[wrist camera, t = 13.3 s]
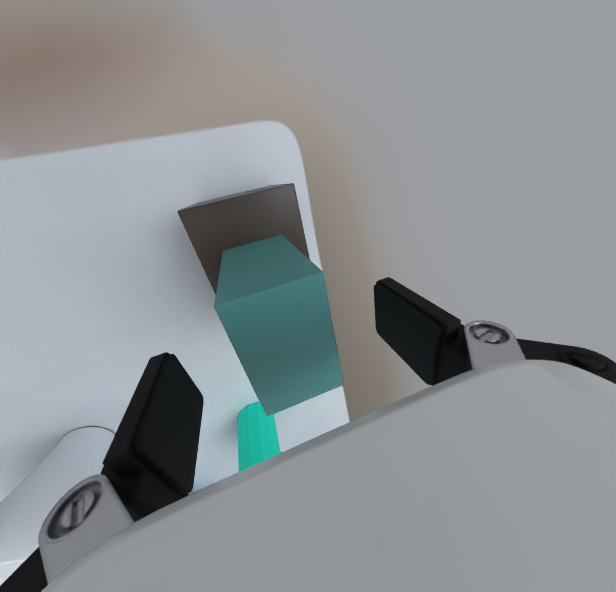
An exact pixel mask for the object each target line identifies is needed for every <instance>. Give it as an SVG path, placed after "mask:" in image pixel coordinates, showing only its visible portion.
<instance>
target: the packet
mask: <svg viewBox="0 0 616 592" xmlns="http://www.w3.org/2000/svg"><path fill="white" fill-rule="evenodd" d="M214 308H215V310H216V312H217V314H218V316H219V318H220V320H221V322H222V324H223V326H224V329H225V331H226V333H227V335H228V337H229V339H230V341H231V343H232V345H233V347H234V349H235V351H236V354H237V356H238V358H239V360H240V362H241V364H242V366H243V368H244V370H245V372H246V374H247V376H248V378H249V381H250V383H251V385H252V387H253V389H254V391H255V393H256V395H257V397H258V399H259V401H260V403H261V405H262V408H263V410H264V412H265V414H266V416H270V415H272V414H275V413H277V412H279V411H282V410H284V409H287V408H289V407H291V406H294V405H296V404H299V403H301V402H303V401H306V400H308V399H311V398H313V397H315V396H318V395H320V394H323V393H325V392H327V391H330V390H332V389H335V388H337V387H339V386H342V385H343V384H344V383H343V377H342V372H341V367H340V361H339V356H338V350H337V345H336V340H335V334H334V328H333V323H332V317H331V312H330V306H329V301H328V296H327V290H326V285H325V279H324V274H323V272H322V271H321V270H320V269H319V268H318V267H317V266H316V265H315V264H313V263H312V262H311V261H310V260H309V259H308V258H307V257H306V256H305V255H304V254H303V253H301V252H300V251H299V250H298V249H297V248H296V247H295V246H294V245H293V244H292V243H290V242H289V241H288V240H287V239H286V238H285V237H284V236H283V235H282V234H281V235H277V236H274V237H270V238H267V239H263V240H259V241H256V242H252V243H249V244H245V245H241V246H238V247H234V248H231V249H227V250H223V253H222V260H221V266H220V273H219V279H218V286H217V292H216V299H215V305H214Z"/></svg>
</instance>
